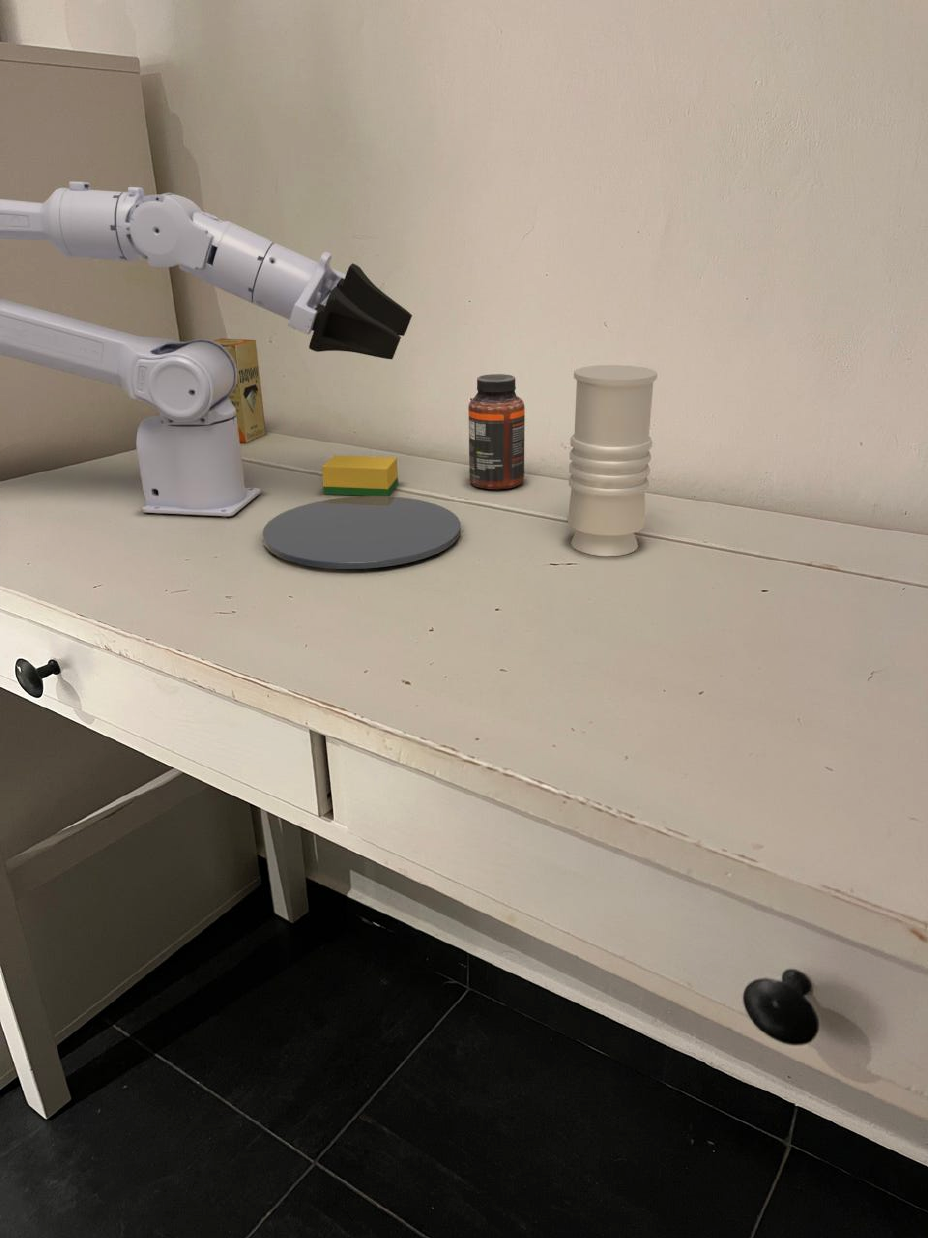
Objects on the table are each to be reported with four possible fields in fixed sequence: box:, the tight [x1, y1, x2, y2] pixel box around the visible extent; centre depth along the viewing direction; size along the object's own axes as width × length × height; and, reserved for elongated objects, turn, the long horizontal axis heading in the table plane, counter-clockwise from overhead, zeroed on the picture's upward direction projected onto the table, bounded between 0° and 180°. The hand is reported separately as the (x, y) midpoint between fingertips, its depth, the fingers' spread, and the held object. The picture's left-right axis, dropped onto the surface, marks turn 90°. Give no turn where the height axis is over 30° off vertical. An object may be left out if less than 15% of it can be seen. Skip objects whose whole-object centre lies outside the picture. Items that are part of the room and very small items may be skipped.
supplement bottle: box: [467, 373, 526, 491], centre depth 93 cm, size 6×6×11 cm
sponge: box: [321, 454, 399, 497], centre depth 94 cm, size 7×4×3 cm, turn 80°
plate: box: [261, 495, 462, 570], centre depth 81 cm, size 18×18×1 cm
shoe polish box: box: [213, 338, 267, 444], centre depth 113 cm, size 5×5×12 cm
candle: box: [567, 364, 658, 557], centre depth 76 cm, size 7×7×15 cm
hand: (402, 336), depth 83 cm, fingers open, 7 cm apart
